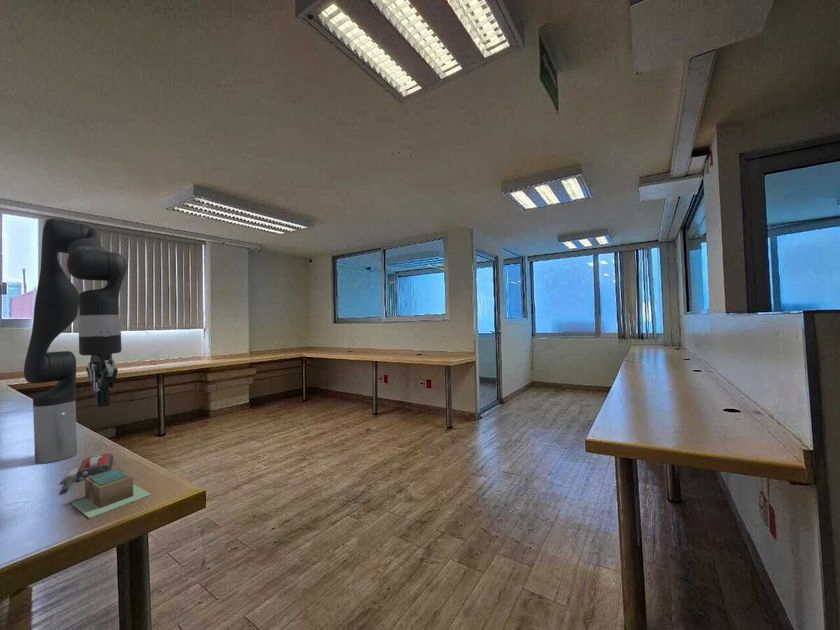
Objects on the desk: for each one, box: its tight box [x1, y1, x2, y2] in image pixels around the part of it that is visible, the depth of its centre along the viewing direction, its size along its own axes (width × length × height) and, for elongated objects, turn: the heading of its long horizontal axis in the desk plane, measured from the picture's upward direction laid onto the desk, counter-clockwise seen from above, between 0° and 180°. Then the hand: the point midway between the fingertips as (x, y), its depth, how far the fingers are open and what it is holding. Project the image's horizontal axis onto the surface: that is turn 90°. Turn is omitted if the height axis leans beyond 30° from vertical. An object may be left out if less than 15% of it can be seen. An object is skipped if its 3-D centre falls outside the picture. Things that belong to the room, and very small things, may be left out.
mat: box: [71, 483, 152, 519], centre depth 82 cm, size 12×11×1 cm
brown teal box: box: [84, 468, 134, 508], centre depth 83 cm, size 5×6×10 cm
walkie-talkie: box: [62, 453, 114, 492], centre depth 96 cm, size 9×4×20 cm
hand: (102, 406), depth 84 cm, fingers closed
